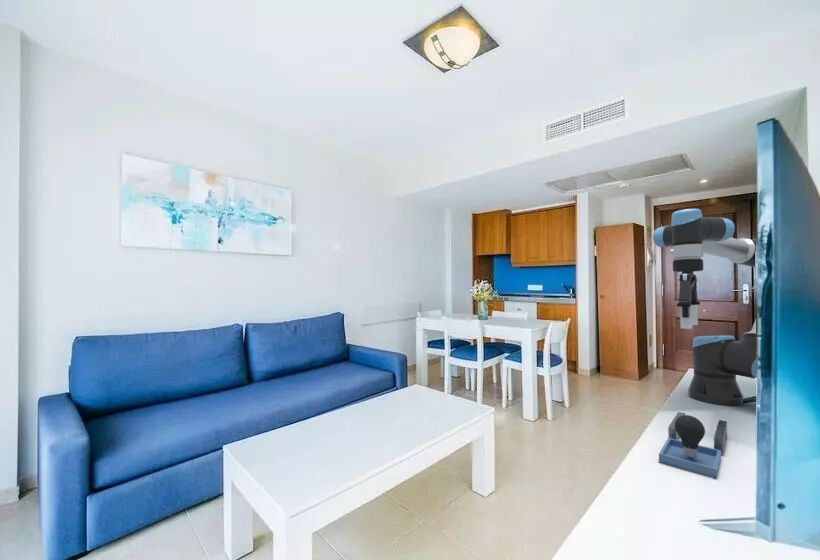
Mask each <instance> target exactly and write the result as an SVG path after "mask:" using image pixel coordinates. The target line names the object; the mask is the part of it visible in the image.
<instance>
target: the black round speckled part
mask: <svg viewBox="0 0 820 560" xmlns="http://www.w3.org/2000/svg"><path fill="white" fill-rule="evenodd" d="M675 429H676V432H677V434H678V435H679V437H680V438H679V439H680V441H682V444H683V447H684V454H685V455H686V456H687V457H688V458H689V459H693V458H696V457H697V448H698V445H699V444H700V443H701V441H702V440H703V439H704V437H705V435H706V429H705V427H704V424H703V423H702V421H700V419H698V418H696V416H692V415H690V414H689V415H688V414H687V415H686V414H685V415H683V416H680V417H679V418H677V420H676V421H675Z"/></svg>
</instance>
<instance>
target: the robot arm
mask: <svg viewBox="0 0 820 560" xmlns="http://www.w3.org/2000/svg"><path fill="white" fill-rule="evenodd" d="M735 229H736V227H735V223H734V222H733V221H732V220H731V219H729V218H725V217H720V216H717V217H716V216H715V217H712V216H710V217H709V216H708V217H706V216H703V214H702V210H701V209H700V208H686V209H684V208H683V209H680V210H676V211H674V212H673V213H672V214H671V224H668V225H664V226H661V227H658V228H656V229H655V230H654V231H653V234H652V241H653V243H654V244H655V245H656V246H657V247H658V248H659V247H660V248H669V247H671V249H669V252H670V253H672V259H674V260H672V271H673V272H674V273H680V274H679V275H678V277H679V280H678V281H679V291H678V292H679V293H678V303H676V307H677V308H678V307H679V321H680V322H679V323H680V326H679V327H680V329H682V330H683V329H684V330H685V329H688V330H693V326H699V322H698V321H699V317H698V316H699V315H698V314H699V313H698V306H699V305H700V304H701V301H699V298H698V292H697V291H698V290H697V288H698V285H697V282H698V278H697V275H696V274H695V273H694V272H703V271H704V260H703V259H702V258H703V257H704V254H706V255H710V256H715V257H719V258H724V259H727V260H728V261H729V262H731V263H734V264H739V265H741V266H742V265H743V266H748V267H752V268H756V267H755V251H756V239H757V238H752V239H751V238H745V237H741V238H734V237H732V236H733V235H734V233H735ZM692 341H693V342H692V362H693V377H692V379H691V381H690V384H689V386H688V396H689V397H691V399H695V400H698V401H701V402H703V403H704V402H706V403H709V404H716V405H722V406H723V405H724V406H741V405H744V403H743V400H745V399H744V395H743V393H742V390H741V388H740V386H739V383H738V382H737V376H740V377H745V378H749V379H754V380H756V379H755V378H756V319H755V321H754V323H753V325H752V327H751V330H750V331H747V332H744V333H743V334H742V337H741V339H740V341H739V340H736V338H735V336H734V335H699V336H695V337H694V338H693V340H692Z"/></svg>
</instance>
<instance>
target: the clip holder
mask: <svg viewBox="0 0 820 560" xmlns="http://www.w3.org/2000/svg"><path fill="white" fill-rule="evenodd" d="M683 415H686V413H685V412H681V411H677V413H676V414H675V416H674V418H673V419H672V421H671V422H670V424H669V425H668V429H667V430H668V431H667V432H668V438H672V439H676V440H680V439H681V438H680V437H679V435H678V434H677V432H676V429H675V421H676V420H677V418H679V417H680V416H683ZM714 432H715V433H714V436H713V447H714V448H713V449H717V450H721V457H724V454H725V449H726V444H727V441H728V440H727V439H728V422H727V421H726V420H722V419H719V420H718V422H717V426H716V429H715V431H714Z"/></svg>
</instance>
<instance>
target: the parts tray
mask: <svg viewBox="0 0 820 560" xmlns="http://www.w3.org/2000/svg"><path fill="white" fill-rule="evenodd" d="M721 462H722V456H721V450H717V449H714V448H712V447H708V446H705V445H699V444H698V448H697V457H696V458H693V459H689V458H688V457H687V456H686V455H685V454H684V447H683V444H682V440H681V439H679V440H676V439H672V438H669V437H668V438H667V439H666V441H665V443H664V444H663V446H662V447H661V450H660V451H659V453H658V463H659V464H664V465H667V466H671V467H674V468H677V469H681V470H684V471H688V472H690V473H695V474H698V475H701V476H705V477H708V476H709V478H711V477H713V478H712V479H715V478H717V479H718V476H719V475H718V474H719V471H720V467H721Z"/></svg>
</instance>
